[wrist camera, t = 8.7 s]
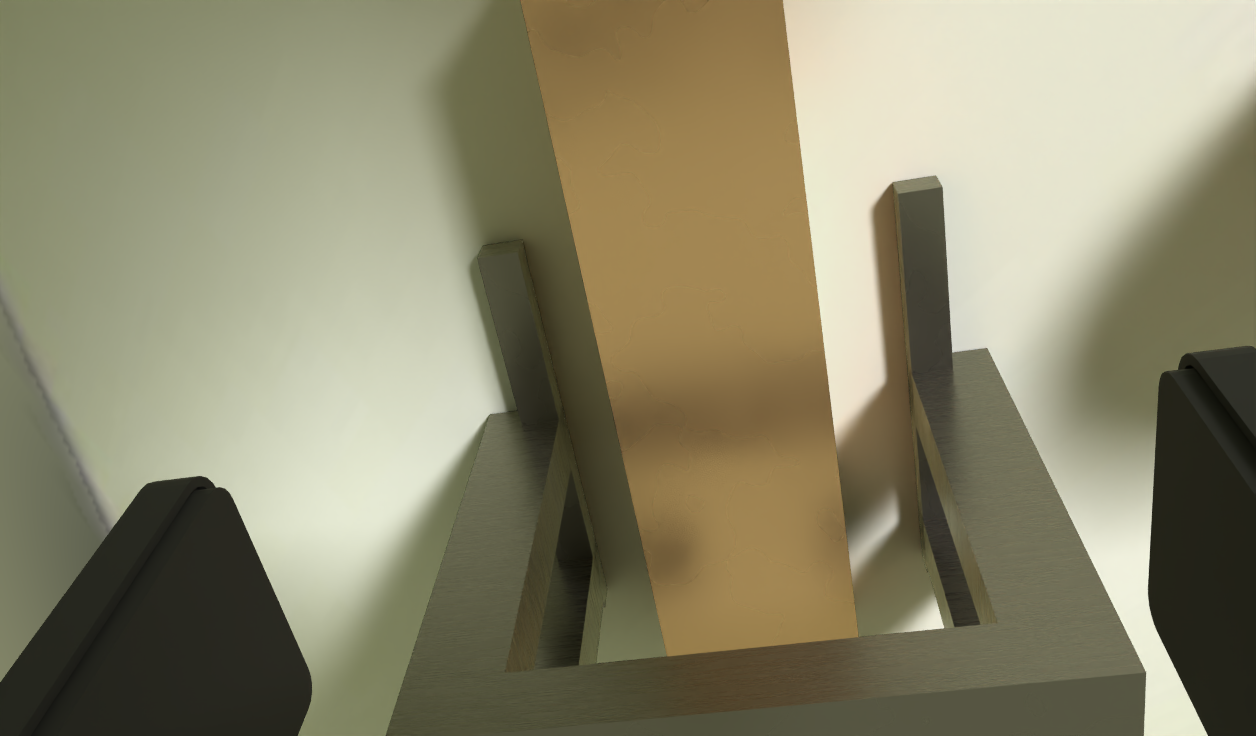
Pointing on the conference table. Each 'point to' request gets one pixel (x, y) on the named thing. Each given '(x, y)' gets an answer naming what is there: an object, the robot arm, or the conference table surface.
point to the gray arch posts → (793, 673)
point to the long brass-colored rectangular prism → (703, 307)
